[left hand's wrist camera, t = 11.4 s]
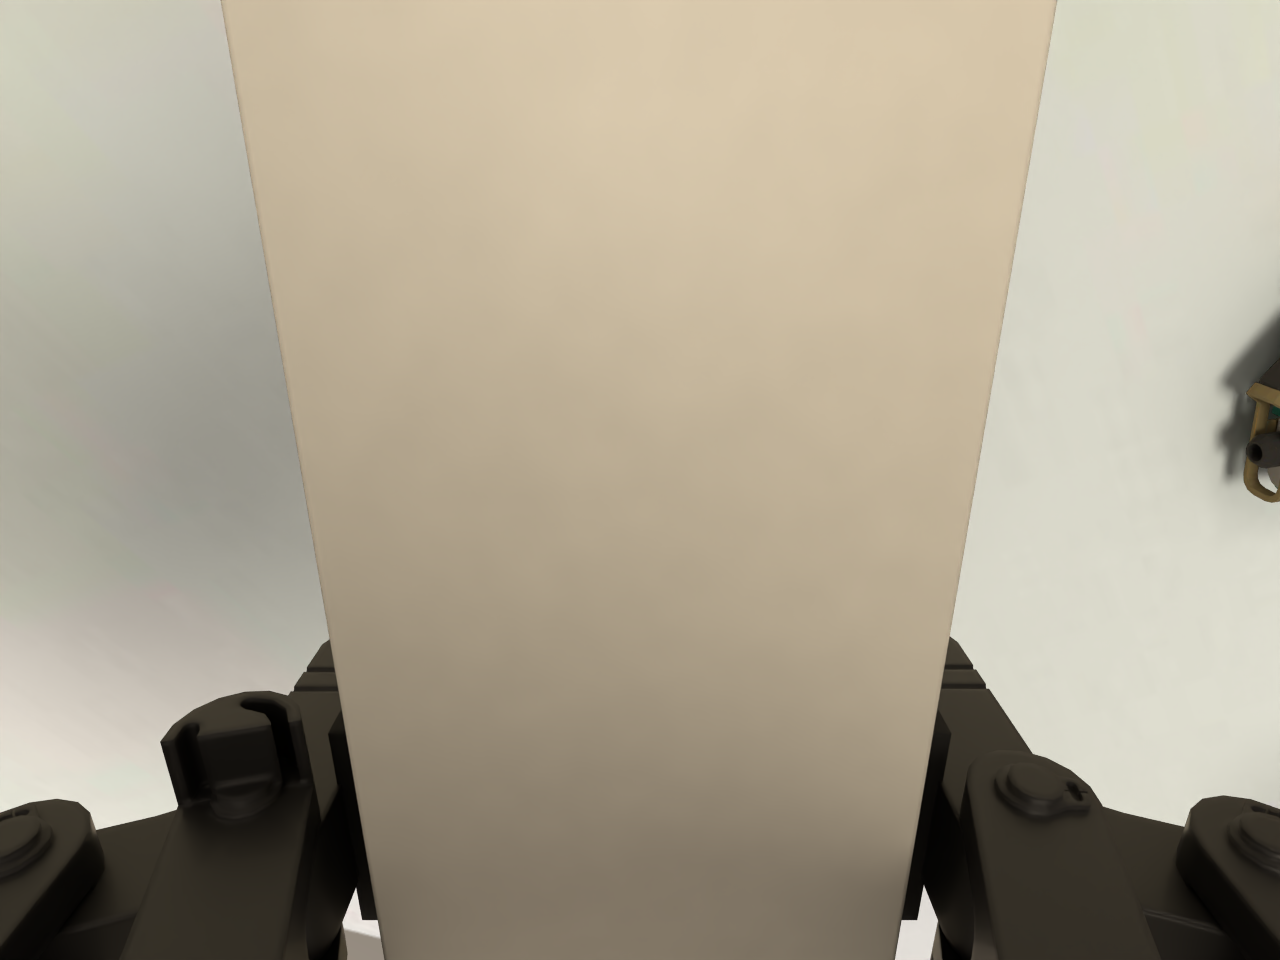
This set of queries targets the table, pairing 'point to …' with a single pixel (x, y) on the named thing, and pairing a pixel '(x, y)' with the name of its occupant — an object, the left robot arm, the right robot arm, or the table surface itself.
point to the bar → (639, 441)
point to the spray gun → (1264, 436)
